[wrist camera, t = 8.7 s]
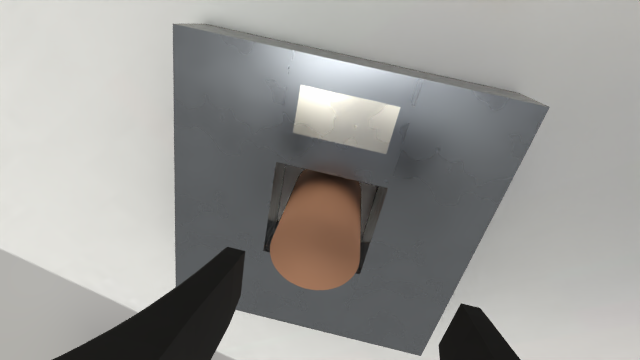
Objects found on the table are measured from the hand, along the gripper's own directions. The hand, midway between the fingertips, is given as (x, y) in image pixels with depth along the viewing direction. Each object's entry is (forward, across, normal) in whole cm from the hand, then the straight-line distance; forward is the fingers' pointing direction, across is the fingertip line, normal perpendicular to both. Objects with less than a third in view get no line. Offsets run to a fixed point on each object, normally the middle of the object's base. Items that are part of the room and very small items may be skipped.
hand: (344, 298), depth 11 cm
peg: (+9, +1, +1) cm, 9 cm away
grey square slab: (+9, +1, +2) cm, 10 cm away
